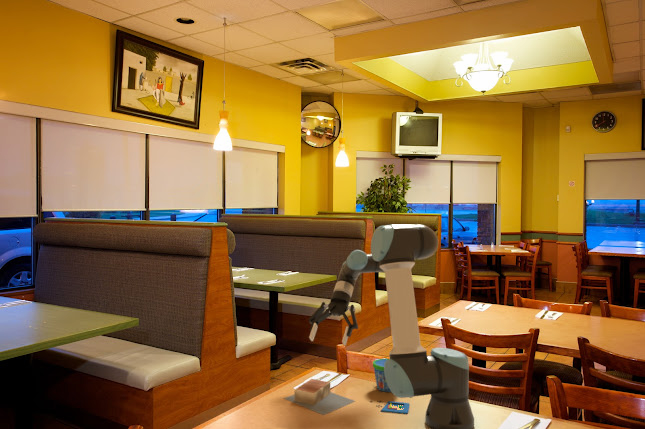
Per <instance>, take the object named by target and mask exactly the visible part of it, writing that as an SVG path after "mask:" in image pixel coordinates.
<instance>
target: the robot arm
mask: <svg viewBox="0 0 645 429" xmlns="http://www.w3.org/2000/svg"><path fill="white" fill-rule="evenodd" d="M370 242H371V243H370V253H366V252H365V251H363V250H360V249H355V250H353V251H351V252H350V254H349V255H348V256H347V258H346V260H345V261H344V262H343V263H342V266H341V267H340V271H339V274H338V277H337V280H336V283H335V286H334V289H333V292H332V295H331V298H330V302H329V303H326V302H325V301H323V302H321V304H320V306H319V307H318V308H317V310H315V312H313V314H312V315H311V316H310V317H309V318H308V323H309V324H310V328H309V331H310V333H309V336H308V338H309V340H310V342H314V339H315V336H316V334H317V331H318V327H319V326H318V325H319V324H320V323H322V322H323V321H324V320H326V319H327V318H329V317H331V316H333V317H341V316H342V317H343V318H344V321H345V323H346V324H347V326H346V327H345V330H344V334H343V337H342V340H341V342H342V344H343V346H347V342H348V338H350V337H351V336H352V333H353V331H354V329H355V330H358V329H359V325H358V321H357V320H358V319H357V317H356V308H355V305H354V304H351V305H350V303H351V298H352V295H353V293H354V292H353V291H354V289H355V286H356V282H357V281H358V277H359V276H360V275H361V274H365V273H366V274H367V273H370V274H371V273H384V276H385V284H386V287H385V288H386V295H387V296H386V297H387V302H388V310H389V311H388V312H389V321H390V322H389V323H390V331H391V338H392V349H391V350H390V351H389V353H388V354H389V358H387V359H388V360H387V361H386V362H385V364H384V366H385V367H384V374H385V379H386V382H387V385H388V387H389V389H390V390H391V392H390V393H392V394H393V395H394V396H395V397H397V398H399V399H402V398H403V399H404V398H405V399H406V398H410V399H412V398H414V397H421V396H427V395H430V400H429V402H428V405H427V408H426V410H425V421H424V422H425V423H426V425H427V426H428V427H429V428H431V429H473V428H475V417H474V414H473V410H472V407H471V405H470V401H469V394H470V393H469V380H470V379H469V374H470V373H469V372H470V366H469V364H470V363H469V358H468V356H467V355H466V354H465V353H464V352H461V351H459V350H455V349H452V348H446V347H433V348H432V349H431V351H430V355H429V354H427V349H426V348H424V347H423V346H422V345H421V338H420V328H419V321H418V313H417V304H416V298H415V296H416V295H415V289H414V281H413V274H412V268H414V266H415V264H416V260H426V259H428V258H430V257H432V256H433V255H434V254H435V253H436V252H437V250H438V247H439V239H438V235H437V234H436V232H435V231H434V230H433V229H432V228H430V227H429V226H427V225H425V224H418V223H415V224H392V223H390V224H386V225H380V226H378V227H376V229H375V230H374V231H373V235H372V237H371V241H370ZM348 310H349V312H350V315H351V318H352V319H351V320H352V322H351V321H350V319H349V318H348V316H347V314H346V312H347V311H348Z"/></svg>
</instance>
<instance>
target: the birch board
mask: <svg viewBox="0 0 645 429" xmlns="http://www.w3.org/2000/svg"><path fill="white" fill-rule="evenodd" d="M330 392H331V382H330V381H326V380H325V381H324V380H320V379H316V378H315V379H313V378H311V379H308V380H307V381H306V382H304V383H303V384H301V385H300V386H298V387H296V388H295V389H294V394H295V401H298V402H302V403H307V404H312V405H315V404H317V403H318V402H319V401H321V400H322V399H323V398H325V397H326V396H327V395H329V394H330Z"/></svg>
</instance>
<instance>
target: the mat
mask: <svg viewBox="0 0 645 429" xmlns="http://www.w3.org/2000/svg"><path fill="white" fill-rule="evenodd" d="M283 399H285V400H287V401H289V402H291V403H293V404H296V405H298V406H301V407H303V408H305V409H308V410H310V411H313V412H315V413H317V414H319V415H321V416H325V415H327V414H330V413H331V412H332V413H333V412H334V411H337V410H338V409H341V408H344V407H346V406H347V405H350V404H353V403H355V402H356V400H354V399H351V398H348V397H345V396H343V395H340V394H337V393H335V392H331V391H330V394H329V395H327V396H326V397H325V398H323V399H322V400H321V401H319V402H318V403H317V404H315V405H312V404H307V403H302V402H298V401H295V393H294V394H292V395H289V396H287V397H284V398H283Z"/></svg>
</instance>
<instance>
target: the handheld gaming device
mask: <svg viewBox="0 0 645 429" xmlns="http://www.w3.org/2000/svg"><path fill="white" fill-rule="evenodd" d="M370 403H373V401H372V400H371V401H370ZM377 403H382V401H381V400H377ZM383 405H384V406H382V405H380V404H378V405H377V407H379V408H381V410H380V412H382V413H390V412H392V414H401V413H403V414H404V415H408V414H409V411H410V403H409V402H404V401H403V402H402V401H390V400H389V401H387V403H384V404H383ZM391 405H392V406H393V405H394V406H397V407H398V405H399V408H400V409H401V408H402V409H403V408H404V409H403V410H397V408H392V407H391ZM400 405H401V406H400ZM402 405H403V406H402ZM403 414H402V415H403Z"/></svg>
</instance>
